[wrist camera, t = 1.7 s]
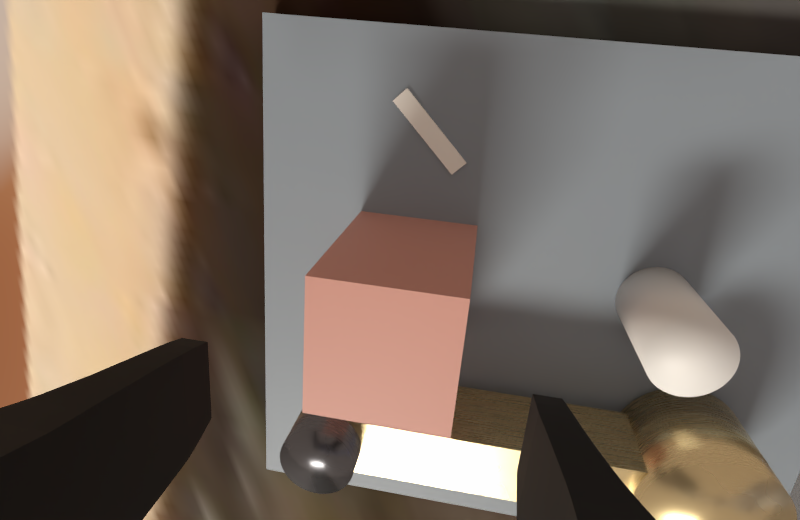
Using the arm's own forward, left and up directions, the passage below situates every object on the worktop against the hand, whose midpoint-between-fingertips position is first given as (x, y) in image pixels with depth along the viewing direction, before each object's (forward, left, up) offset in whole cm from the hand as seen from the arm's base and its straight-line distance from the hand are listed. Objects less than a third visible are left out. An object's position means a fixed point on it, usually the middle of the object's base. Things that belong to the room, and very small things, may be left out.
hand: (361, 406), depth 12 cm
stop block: (0, 0, -8) cm, 8 cm away
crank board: (-5, +1, -9) cm, 10 cm away
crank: (-4, +5, -8) cm, 10 cm away
